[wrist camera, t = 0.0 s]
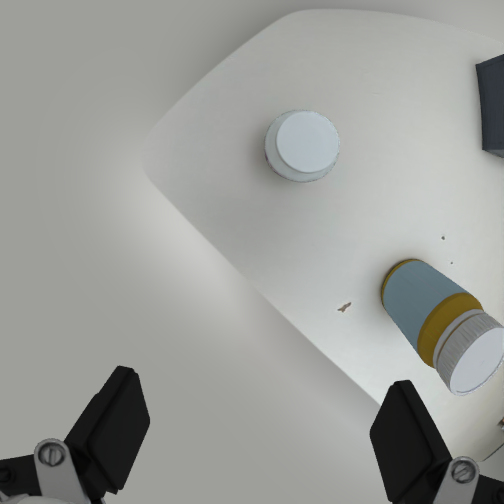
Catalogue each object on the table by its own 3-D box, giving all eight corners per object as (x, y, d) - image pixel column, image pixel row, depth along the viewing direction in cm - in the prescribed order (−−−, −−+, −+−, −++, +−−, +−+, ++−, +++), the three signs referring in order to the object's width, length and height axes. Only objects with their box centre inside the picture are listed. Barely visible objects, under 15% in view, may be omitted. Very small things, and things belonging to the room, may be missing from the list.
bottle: (418, 245, 27) (509, 302, 13) (438, 291, 28) (514, 359, 14) (369, 282, 28) (435, 368, 14) (393, 325, 30) (452, 412, 15)
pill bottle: (259, 173, 26) (255, 174, 17) (270, 119, 25) (271, 92, 15) (316, 185, 26) (341, 192, 17) (326, 132, 25) (356, 112, 15)
